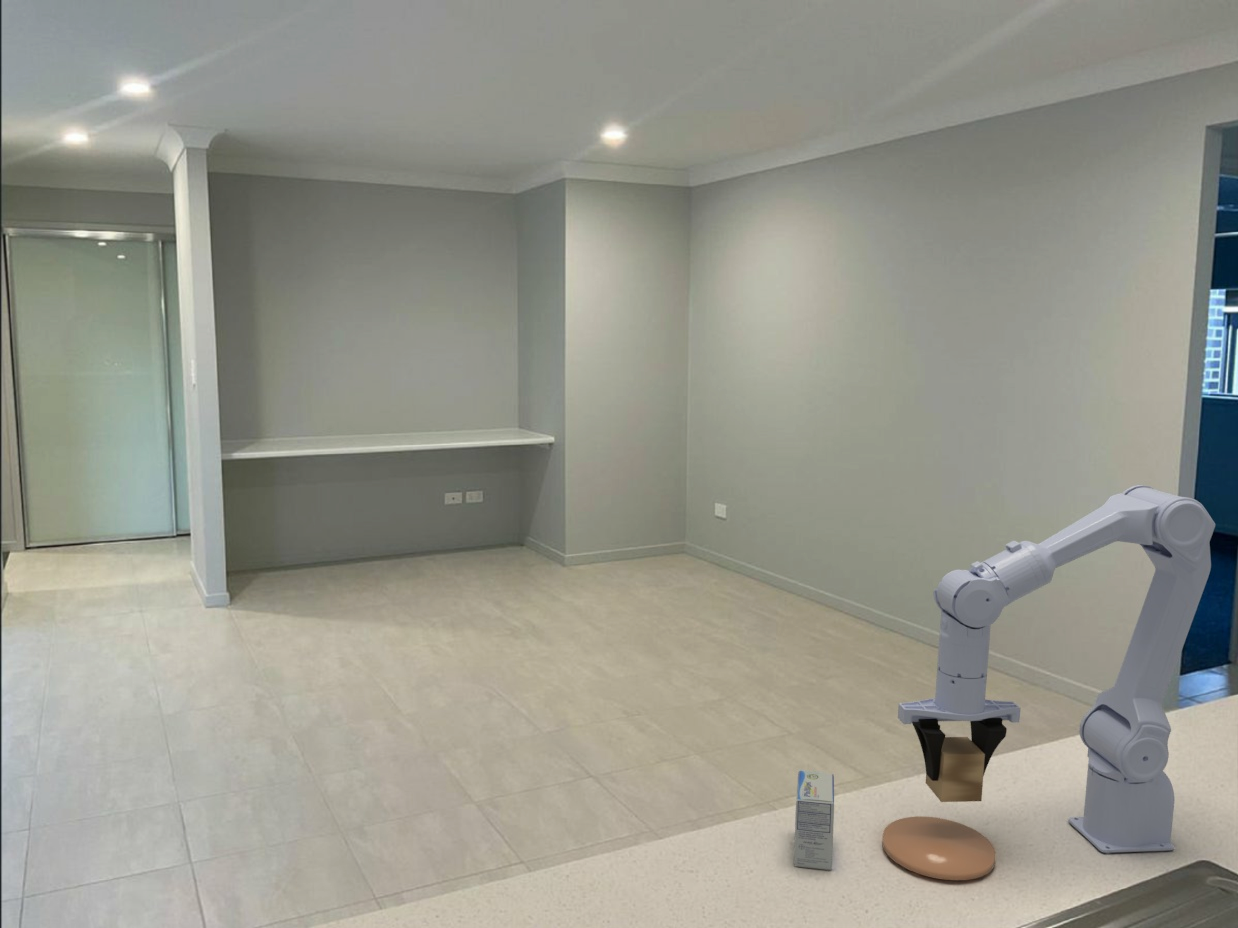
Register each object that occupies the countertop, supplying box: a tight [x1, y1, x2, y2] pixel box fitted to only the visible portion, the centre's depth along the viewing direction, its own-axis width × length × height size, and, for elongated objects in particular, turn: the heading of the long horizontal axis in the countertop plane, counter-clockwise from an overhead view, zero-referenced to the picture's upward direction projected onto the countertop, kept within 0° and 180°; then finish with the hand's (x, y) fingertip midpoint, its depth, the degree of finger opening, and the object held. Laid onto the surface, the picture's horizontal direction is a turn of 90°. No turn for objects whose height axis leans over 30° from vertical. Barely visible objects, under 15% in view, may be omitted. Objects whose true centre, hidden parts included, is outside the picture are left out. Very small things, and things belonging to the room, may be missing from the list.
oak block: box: [925, 736, 985, 803], centre depth 122 cm, size 5×5×6 cm
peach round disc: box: [881, 816, 997, 881], centre depth 120 cm, size 13×13×1 cm
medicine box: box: [794, 770, 835, 871], centre depth 120 cm, size 8×4×9 cm, turn 168°
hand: (954, 776), depth 122 cm, fingers closed on oak block, 5 cm apart
